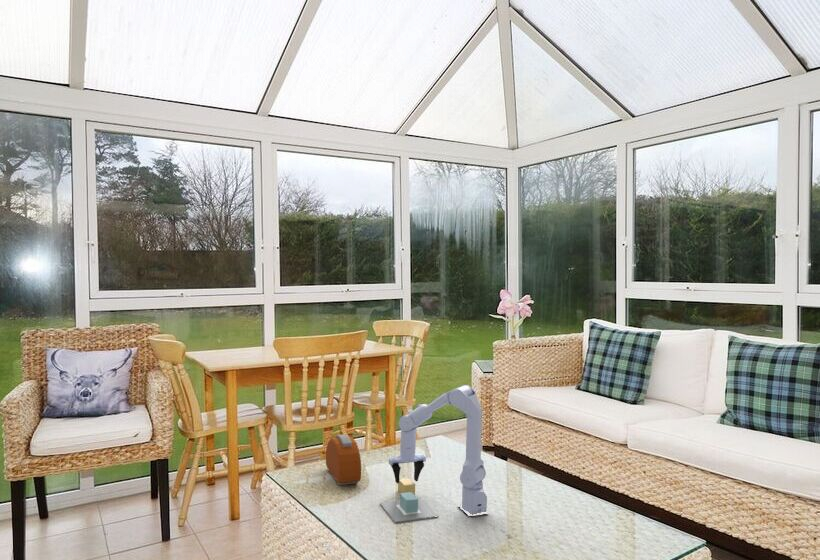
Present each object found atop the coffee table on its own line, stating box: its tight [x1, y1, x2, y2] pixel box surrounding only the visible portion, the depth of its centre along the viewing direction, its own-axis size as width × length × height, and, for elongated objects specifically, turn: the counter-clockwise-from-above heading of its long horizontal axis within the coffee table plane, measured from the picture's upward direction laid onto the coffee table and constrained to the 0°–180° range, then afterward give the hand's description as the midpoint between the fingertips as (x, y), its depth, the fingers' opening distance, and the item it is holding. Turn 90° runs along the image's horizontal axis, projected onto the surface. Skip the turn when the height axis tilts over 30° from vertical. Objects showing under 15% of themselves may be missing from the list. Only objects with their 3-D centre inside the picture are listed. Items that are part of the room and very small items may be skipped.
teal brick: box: [399, 492, 419, 513], centre depth 202 cm, size 6×4×4 cm
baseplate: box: [379, 497, 439, 524], centre depth 202 cm, size 16×16×1 cm
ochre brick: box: [397, 477, 416, 496], centre depth 217 cm, size 6×4×4 cm
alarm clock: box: [325, 434, 362, 486], centre depth 232 cm, size 23×9×17 cm, turn 22°
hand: (406, 481), depth 217 cm, fingers open, 7 cm apart
